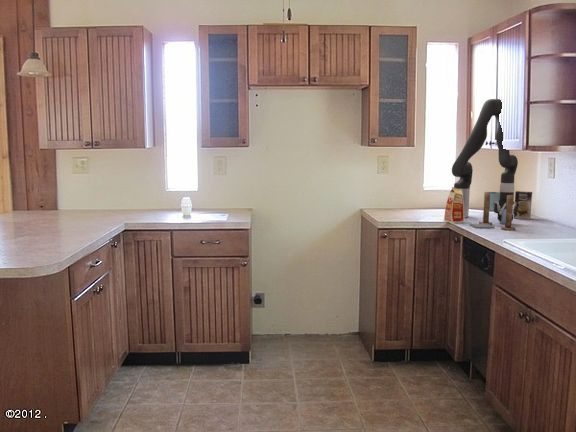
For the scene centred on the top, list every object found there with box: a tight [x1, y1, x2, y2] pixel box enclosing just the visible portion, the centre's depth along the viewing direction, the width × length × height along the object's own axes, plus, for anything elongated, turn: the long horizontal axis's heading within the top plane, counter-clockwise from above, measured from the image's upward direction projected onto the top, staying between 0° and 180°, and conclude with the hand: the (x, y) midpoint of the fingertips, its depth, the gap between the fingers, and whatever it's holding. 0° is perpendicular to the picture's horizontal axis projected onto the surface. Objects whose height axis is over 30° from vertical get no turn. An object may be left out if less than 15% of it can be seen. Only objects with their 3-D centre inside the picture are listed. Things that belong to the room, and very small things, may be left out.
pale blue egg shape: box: [499, 209, 506, 225], centre depth 315 cm, size 6×6×8 cm
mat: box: [469, 223, 495, 229], centre depth 305 cm, size 10×10×1 cm
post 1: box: [478, 191, 493, 226], centre depth 311 cm, size 7×7×18 cm
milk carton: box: [443, 186, 465, 224], centre depth 322 cm, size 9×9×20 cm
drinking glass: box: [489, 191, 500, 213], centre depth 368 cm, size 10×10×12 cm
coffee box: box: [513, 190, 533, 221], centre depth 334 cm, size 9×6×16 cm
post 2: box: [500, 195, 516, 231], centre depth 296 cm, size 7×7×18 cm
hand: (505, 220), depth 316 cm, fingers closed on pale blue egg shape, 5 cm apart
